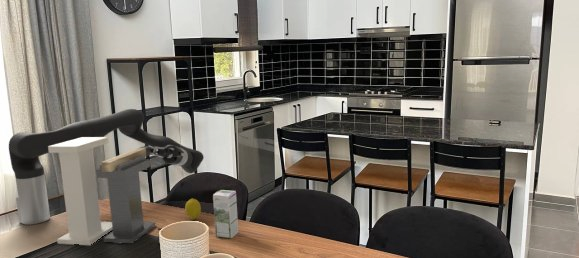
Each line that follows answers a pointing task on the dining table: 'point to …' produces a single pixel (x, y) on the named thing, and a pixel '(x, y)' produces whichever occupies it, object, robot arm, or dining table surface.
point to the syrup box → (225, 213)
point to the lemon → (192, 208)
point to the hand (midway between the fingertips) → (154, 149)
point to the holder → (126, 201)
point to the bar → (124, 158)
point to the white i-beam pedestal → (81, 190)
